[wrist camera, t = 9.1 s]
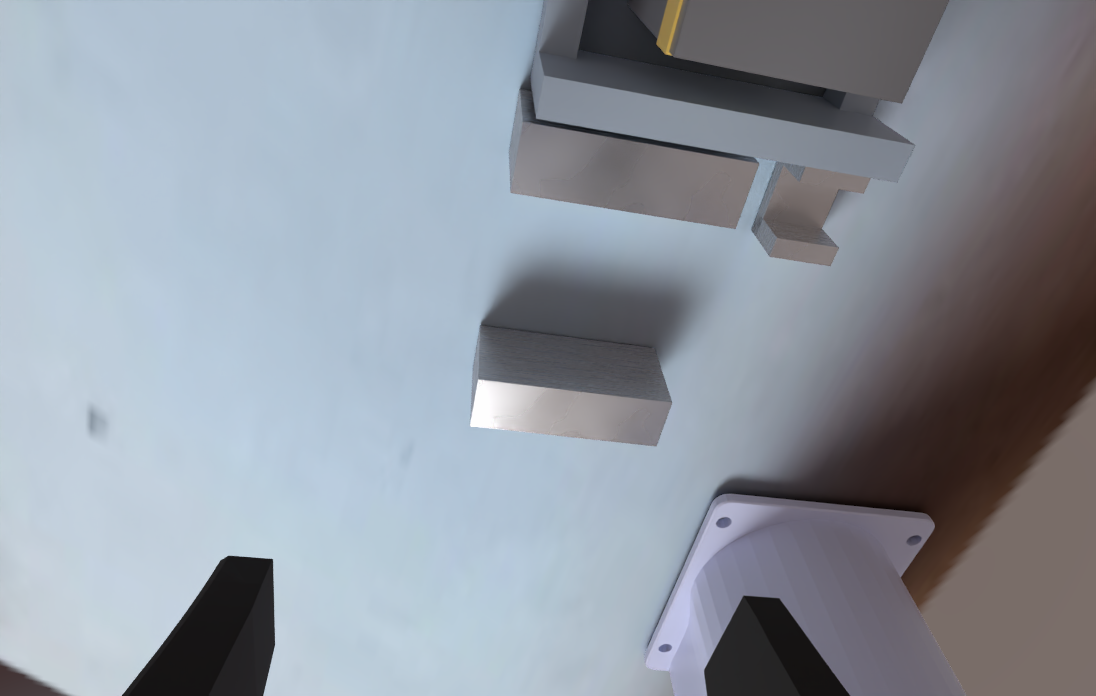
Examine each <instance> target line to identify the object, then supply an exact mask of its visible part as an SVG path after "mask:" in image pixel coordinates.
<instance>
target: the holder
mask: <svg viewBox="0 0 1096 696" xmlns="http://www.w3.org/2000/svg"><path fill="white" fill-rule="evenodd" d="M587 5H588V0H544V2H543V8H542V14H541V20H540V25H539V31H538V37H537V43H536V49H535V54H534V60H533V66H532V72H531V77H530V81H531V87H532V94H533V100H534V107H535V113H536V119H541V120H547V121H553V122H558V123H564V124H569V125H575V126H581V127H586V128H592V129H598V130H603V131H609V132H614V133H620V134H626V135H631V136H637V137H643V138H648V139H654V140H659V141H665V142H671V143H676V144H682V145H688V146H693V147H699V148H704V149H710V150H716V151H721V152H727V153H733V154H738V155H744V156H749V157H755V158H761V159H766V160H772V161H778V162H783V163H789V164H794V165H800V166H806V167H811V168H817V169H823V170H828V171H834V172H839V173H845V174H851V175H856V176H862V177H867V178H873V179H879V180H884V181H890V182H896V183H898V181H899V178H900V176H901V174H902V172H903V170H904V168H905V166H906V164H907V162H908V160H909V158H910V155H911V153H912V151H913V149H914V147H915V145H914V144H913V143H911V142H910V141H908V140H907V139H906V138H904V137H903V136H901V135H900V134H898V133H897V132H895V131H894V130H892V129H891V128H889V127H888V126H886V125H885V124H883V123H882V122H881V121H879V120H878V119H876V118H875V117H873V114H874V111H875V109H876V107H877V105H878V102H879V100H880V99H877V98H872V97H867V96H862V95H857V94H852V93H848V92H843V91H838V90H833V89H828V88H826V91H825V93H824V96H823V97H818V96H813V95H808V94H803V93H798V92H792V91H787V90H782V89H777V88H772V87H767V86H762V85H756V84H751V83H746V82H741V81H736V80H731V79H726V78H721V77H715V76H710V75H705V74H700V73H695V72H690V71H685V70H679V69H674V68H669V67H664V66H659V65H654V64H649V63H643V62H638V61H633V60H628V59H623V58H618V57H613V56H607V55H602V54H597V53H592V52H587V51H582V50H578V49H579V44H580V39H581V34H582V30H583V25H584V20H585V15H586V10H587Z"/></svg>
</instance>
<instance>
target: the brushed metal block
mask: <svg viewBox="0 0 1096 696" xmlns="http://www.w3.org/2000/svg"><path fill="white" fill-rule="evenodd" d="M758 166H759V163H758V161H757V160H756V159H755V158H754V157H749V156H744V155H738V154H733V153H727V152H721V151H716V150H710V149H704V148H699V147H693V146H688V145H682V144H676V143H671V142H665V141H659V140H654V139H648V138H643V137H637V136H631V135H626V134H620V133H614V132H609V131H603V130H598V129H592V128H586V127H581V126H575V125H569V124H564V123H558V122H553V121H547V120H541V119H536V113H535V107H534V100H533V94H532V91H529V90H524V89H519V95H518V101H517V107H516V113H515V119H514V125H513V131H512V137H511V143H510V149H509V167H510V191H511V193H514V194H521V195H527V196H533V197H539V198H546V199H552V200H558V201H564V202H570V203H577V204H583V205H589V206H595V207H602V208H608V209H614V210H620V211H626V212H633V213H639V214H645V215H651V216H658V217H664V218H670V219H676V220H682V221H689V222H695V223H701V224H707V225H714V226H720V227H726V228H732V229H736V226H737V224H738V221H739V218H740V215H741V213H742V210H743V207H744V204H745V202H746V199H747V196H748V193H749V191H750V188H751V185H752V182H753V180H754V177H755V174H756V171H757V169H758ZM671 405H672V400H671V397H670V394H669V391H668V388H667V385H666V382H665V379H664V376H663V373H662V369H661V366H660V363H659V360H658V357H657V354H656V351H655V348H650V347H642V346H634V345H627V344H619V343H611V342H604V341H596V340H589V339H581V338H573V337H566V336H558V335H550V334H543V333H535V332H527V331H520V330H512V329H505V328H497V327H489V326H482V325H480V329H479V335H478V341H477V347H476V353H475V359H474V365H473V374H472V396H471V418H470V426H474V427H483V428H492V429H502V430H511V431H520V432H529V433H538V434H547V435H557V436H566V437H575V438H584V439H593V440H602V441H612V442H621V443H630V444H639V445H648V446H657V443H658V441H659V438H660V435H661V432H662V430H663V427H664V424H665V421H666V419H667V416H668V413H669V410H670V408H671Z"/></svg>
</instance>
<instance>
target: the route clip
mask: <svg viewBox="0 0 1096 696" xmlns="http://www.w3.org/2000/svg"><path fill="white" fill-rule="evenodd" d="M869 181H870V178H867V177H862V176H856V175H851V174H845V173H839V172H834V171H828V170H823V169H817V168H811V167H806V166H800V165H794V164H789V163H783V162H778V161H777V164H776V166H775V169H774V172H773V174H772V177H771V180H770V182H769V185H768V188H767V190H766V193H765V196H764V198H763V201H762V204H761V206H760V209H759V211H758V214H757V217H756V219H755V222H754V225H753V227H752V232H753V233H754V235H755V236H756V238H757V239H758V241H759V242H760V243H761V245H762V246H763V248H764V249H765V251H766V252H767V254H768V255H769V257H775V258H781V259H788V260H794V261H801V262H807V263H814V264H820V265H826V266H831V264H832V262H833V260H834V257H835V255H836V253H837V251H838V249H839V247H838V246H837V245H836V244H835V243H834V242H833V241H832V240H831V238H830V237H829V236H828V235H827V234H826V233H825V232H824V230H823V229H822V227H823V225H824V222H825V220H826V218H827V216H828V213H829V211H830V209H831V206H832V204H833V202H834V199H835V197H836V195H837V193H838V190H839V189H840V190H846V191H852V192H858V193H863V194H864V192H865V189H866V187H867V185H868V183H869Z"/></svg>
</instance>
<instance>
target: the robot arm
mask: <svg viewBox="0 0 1096 696" xmlns="http://www.w3.org/2000/svg"><path fill="white" fill-rule="evenodd" d="M722 517H725V518H723V519H720V518H722ZM934 528H935V525H934V522H933V521H932V519H931V518H930V516H929V515H928V514H925V513H919V512H909V511H899V510H889V509H879V508H869V507H859V506H849V505H839V504H829V503H819V502H809V501H799V500H789V499H779V498H769V497H759V496H749V495H739V494H723V495H720V496H718V497H717V498H715V499H714V501H713V502H712V504H711V506H710V508H709V510H708V513H707V515H706V517H705V519H704V522H703V524H702V526H701V528H700V531H699V533H698V535H697V537H696V540H695V542H694V544H693V546H692V549H691V551H690V553H689V555H688V558H687V560H686V562H685V564H684V567H683V569H682V571H681V573H680V576H679V578H678V580H677V582H676V585H675V587H674V589H673V591H672V594H671V596H670V598H669V600H668V603H667V605H666V607H665V609H664V612H663V614H662V616H661V618H660V621H659V623H658V625H657V627H656V630H655V632H654V634H653V636H652V639H651V641H650V643H649V645H648V648H647V650H646V652H645V654H644V660H645V665H646V666H647V667H648V668H650V669H653V670H664V671H669V672H670V677H671V681H672V686H673V691H674V696H967V695H966V693H965V691H964V690H963V688H962V686H961V684H960V682H959V681H958V679H957V677H956V675H955V674H954V672H953V670H952V668H951V667H950V665H949V663H948V661H947V659H946V658H945V656H944V655H943V652H942V650H941V649H940V647H939V645H938V643H937V642H936V640H935V638H934V637H933V634H932V633H931V631H930V629H929V627H928V626H927V624H926V622H925V620H924V619H923V617H922V615H921V613H920V611H919V610H918V608H917V606H916V604H915V603H914V601H913V599H912V597H911V595H910V594H909V592H908V590H907V588H906V587H905V585H904V583H903V581H902V579H901V576H902V575H903V573H904V572H905V570H906V569H907V568H908V566H909V565H910V563H911V562H912V560H913V559H914V558H915V556H916V555H917V553H918V552H919V550H920V549H921V548H922V546H923V545H924V543H925V542H926V540H927V539H928V538H929V536H930V535H931V533H932V532H933V530H934ZM274 647H275V628H274V585H273V559H264V558H252V557H239V556H227V557H226V558H224V559H222V560H221V561H220V562H219V564H218V565H217V567H216V569H215V570H214V572H213V573H212V575H211V577H210V578H209V580H208V581H207V583H206V584H205V586H204V587H203V588H202V590H201V591H200V593H199V594H198V596H197V597H196V599H195V600H194V602H193V603H192V605H191V606H190V607H189V609H188V610H187V612H186V613H185V614H184V616H183V617H182V619H181V620H180V621H179V623H178V624H177V625H176V627H175V628H174V629H173V631H172V632H171V633H170V635H169V636H168V637H167V639H166V640H165V641H164V643H163V644H162V645H161V647H160V648H159V649H158V651H157V652H156V653H155V655H154V656H153V657H152V658H151V660H150V661H149V662H148V663H147V665H146V666H145V667H144V668H143V670H142V671H141V672H140V673H139V675H138V676H137V677H136V679H135V680H134V681H133V682H132V684H131V685H130V686H129V687H128V689H127V690H126V691H125V692H124V694H123V695H122V696H263V694H264V690H265V686H266V681H267V677H268V673H269V668H270V664H271V660H272V655H273V651H274Z"/></svg>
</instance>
